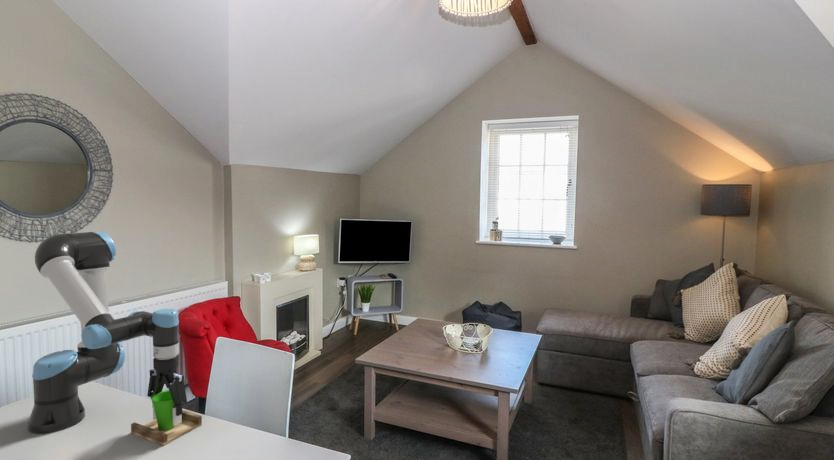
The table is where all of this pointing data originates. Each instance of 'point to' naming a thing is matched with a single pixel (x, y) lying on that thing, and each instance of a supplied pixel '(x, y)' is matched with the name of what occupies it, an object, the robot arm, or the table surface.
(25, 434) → the table surface
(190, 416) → the wooden tray
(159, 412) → the cup
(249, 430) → the table surface
